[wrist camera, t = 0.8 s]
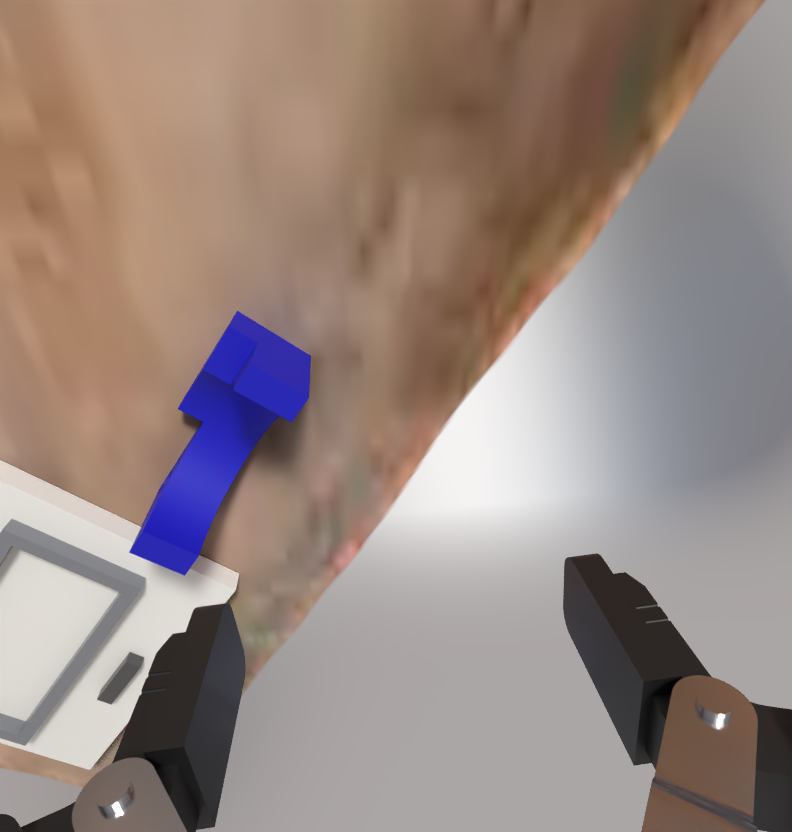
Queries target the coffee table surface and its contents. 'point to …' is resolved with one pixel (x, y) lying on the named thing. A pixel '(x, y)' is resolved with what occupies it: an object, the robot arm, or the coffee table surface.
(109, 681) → the board
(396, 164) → the coffee table surface
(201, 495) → the cable clip
